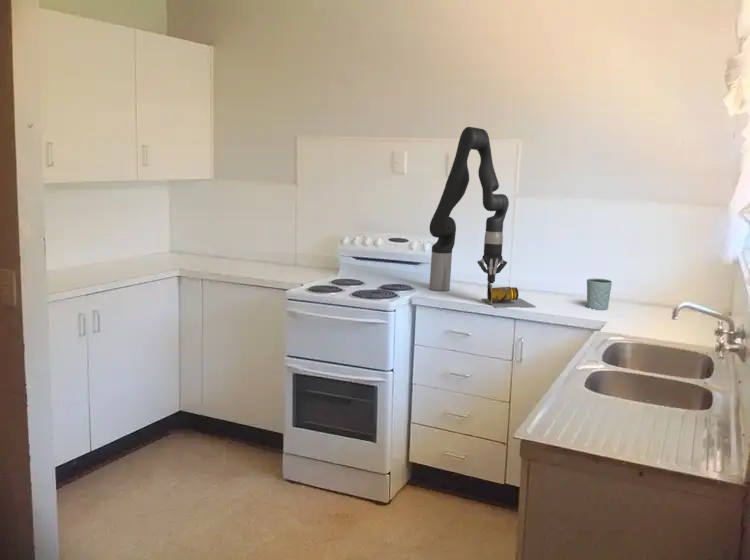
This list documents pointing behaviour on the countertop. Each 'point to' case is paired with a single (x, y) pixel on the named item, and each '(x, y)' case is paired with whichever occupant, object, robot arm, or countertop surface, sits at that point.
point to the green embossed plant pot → (598, 293)
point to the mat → (510, 303)
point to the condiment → (501, 294)
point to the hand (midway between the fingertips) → (490, 283)
